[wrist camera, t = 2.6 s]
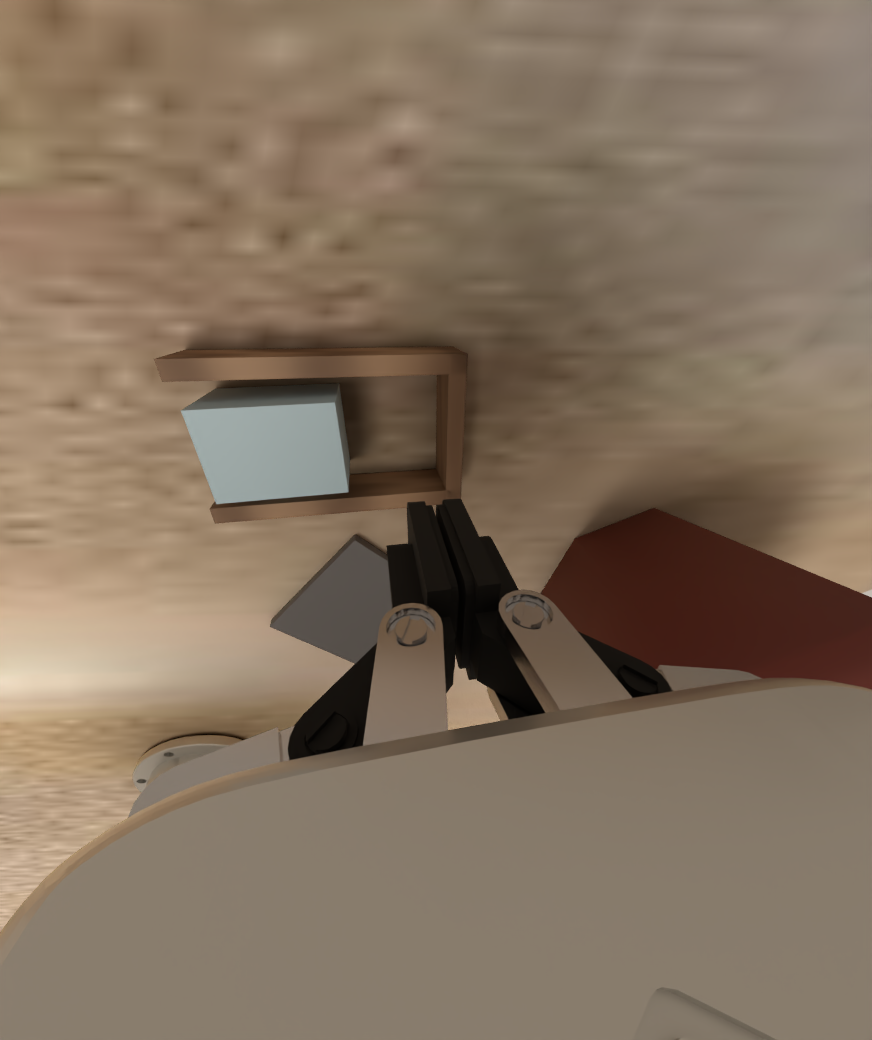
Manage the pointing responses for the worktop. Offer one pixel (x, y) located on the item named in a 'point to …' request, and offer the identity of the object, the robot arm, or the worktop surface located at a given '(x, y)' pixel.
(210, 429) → the block
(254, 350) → the shelf bay
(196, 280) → the worktop surface
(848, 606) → the bucket
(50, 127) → the worktop surface
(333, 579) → the mat
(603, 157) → the worktop surface
